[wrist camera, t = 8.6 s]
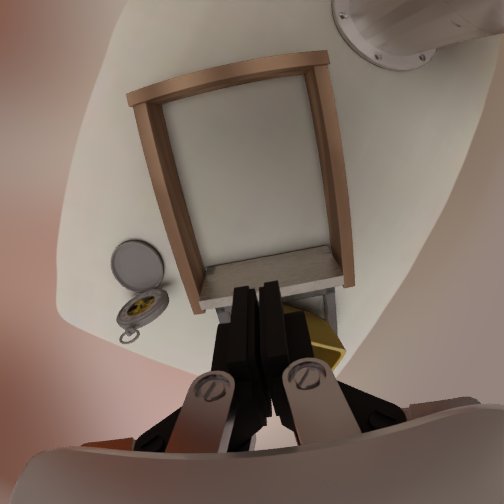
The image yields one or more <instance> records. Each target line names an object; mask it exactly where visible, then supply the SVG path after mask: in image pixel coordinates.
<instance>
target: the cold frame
mask: <svg viewBox="0 0 504 504" xmlns="http://www.w3.org/2000/svg"><path fill="white" fill-rule="evenodd" d="M328 64H330V61H329V57H328V52H327V50H322V51H311V52H301V53H292V54H284V55H277V56H270V57H264V58H258V59H252V60H247V61H242V62H237V63H232V64H227V65H222V66H218V67H214V68H209V69H205V70H201V71H197V72H194V73H190V74H186V75H183V76H179V77H176V78H172V79H169V80H165V81H162V82H159V83H156V84H153V85H150V86H147V87H144V88H141V89H138V90H135V91H132V92H130V93H127V94H126V96H127V101H128V105H129V107H133V109H134V114H135V118H136V122H137V127H138V131H139V135H140V139H141V143H142V147H143V151H144V155H145V159H146V163H147V166H148V170H149V174H150V178H151V181H152V185H153V188H154V192H155V195H156V199H157V202H158V206H159V209H160V213H161V216H162V219H163V223H164V226H165V229H166V232H167V236H168V239H169V242H170V245H171V248H172V251H173V255H174V258H175V261H176V264H177V267H178V270H179V273H180V276H181V279H182V282H183V284H184V287H185V290H186V293H187V296H188V299H189V302H190V304H191V307H192V310H193V313H194V315H195V314H202V313H205V311H206V309H205V310H201V307H200V304H199V298H200V294H201V290H202V286H203V283H204V279H205V275H206V273H205V270H204V266H203V263H202V260H201V256H200V253H199V249H198V246H197V243H196V239H195V236H194V232H193V228H192V225H191V221H190V218H189V214H188V210H187V207H186V203H185V199H184V196H183V192H182V188H181V184H180V181H179V177H178V173H177V169H176V165H175V161H174V157H173V153H172V149H171V145H170V141H169V137H168V133H167V128H166V124H165V120H164V116H163V111H162V107H161V104H164V103H167V102H171V101H174V100H178V99H181V98H185V97H189V96H192V95H196V94H200V93H204V92H208V91H212V90H217V89H221V88H226V87H230V86H235V85H240V84H245V83H250V82H256V81H261V80H267V79H273V78H280V77H286V76H294V75H302V74H304V77H305V82H306V86H307V91H308V96H309V101H310V106H311V112H312V117H313V122H314V128H315V134H316V139H317V145H318V151H319V158H320V164H321V171H322V177H323V184H324V192H325V199H326V207H327V215H328V223H329V232H330V241H331V251H332V255H333V257H334V259H335V261H336V263H337V264H338V266H339V268H340V270H341V272H342V274H343V276H344V285H343V287H344V288H348V287H353V286H355V275H354V256H353V242H352V229H351V217H350V207H349V197H348V188H347V180H346V172H345V164H344V157H343V150H342V143H341V136H340V130H339V124H338V118H337V112H336V107H335V101H334V96H333V91H332V86H331V81H330V76H329V71H328V67H327V65H328Z"/></svg>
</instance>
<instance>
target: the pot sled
mask: <svg viewBox="0 0 504 504" xmlns="http://www.w3.org/2000/svg"><path fill="white" fill-rule="evenodd" d="M276 280H278V282H279V287H280V293H281V298H282V303H283V302H288V301H294V300H299V299H304V298H309V297H315V296H320V295H324V303H325V314H326V322H327V323H328V324H329V325H330V326H331V327H332V329H333V330H334V332H335V333H336V335H337V319H336V303H335V290H334V287H336V286H340V285H344V276H343V274H342V272H341V270H340V268H339V266H338V264H337V263H336V261H335V259H334V257H333V255H332V253H331V252H330V250H329V248H328V246H321V247H316V248H311V249H305V250H300V251H295V252H289V253H284V254H279V255H273V256H268V257H262V258H257V259H251V260H246V261H241V262H235V263H230V264H224V265H219V266H213V267H208V268H207V271H206V275H205V279H204V283H203V286H202V290H201V294H200V298H199V304H200V307H201V310H205V309H212V308H215V309H216V312H217V315H218V318H219V321H220V324H222V323H229V322H230V320H231V316H230V313H229V311H231V310H232V301H233V292H234V288H235V287H241V286H247V285H248V286H249V288H250V289H252V288H255V291H256V295H257V299H258V303H259V287H264V283H265V282H270V281H276Z"/></svg>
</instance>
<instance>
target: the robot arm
mask: <svg viewBox="0 0 504 504" xmlns="http://www.w3.org/2000/svg"><path fill="white" fill-rule="evenodd" d="M332 12H333V16H334V21H335V23H336V25H337V28H338V30H339V32H340V33H341V35H342V36H343V38H344V40H345V41H346V42H347V43H348V44H349V45H350V47H351V48H352V49H353V50H354V51H356V52H357V53H358V54H359V55H360V56H361V57H363V58H364V59H366V60H368V61H369V62H371V63H373V64H375V65H377V66H379V67H382V68H385V69H389V70H395V71H406V70H412V69H416V68H419V67H421V66H423V65H425V64H426V63H427V62H429V61H430V60H431V59H432V57H433V56H434V54H435V53H436V50H437V48H438V47H442V46H446V45H450V44H454V43H458V42H463V41H467V40H471V39H476V38H481V37H486V36H491V35H497V34H502V33H504V0H333V1H332ZM340 16H342V17H343V19H342V18H340ZM375 56H376V57H377V59H376V58H375ZM271 399H272V402H273V406H274V410H275V413H276V416H280V419H281V423H282V425H283V426H285V427H287V428H288V429H290V430H292V431H293V432H294V435H295V438H296V442H297V445H298V446H293V447H285V448H278V449H268V450H258V451H254V448H255V443H256V435H255V433H256V432H258V431H259V430H260V429H261V428H262V427H263V426H267V419H266V418H267V417H272V405H271ZM8 504H504V405H500V404H481V403H480V402H478V401H477V400H476V399H474V398H471V397H459V398H453V399H447V400H440V401H434V402H426V403H418V404H410V405H409V408H400V407H398V406H397V405H395V404H393V403H390V402H387V401H385V400H383V399H380V398H377V397H375V396H373V395H370V394H368V393H365V392H363V391H361V390H358V389H356V388H354V387H351V386H349V385H347V384H344V383H342V382H339V381H337V380H336V378H335V376H334V374H333V372H332V370H331V368H330V367H329V365H328V364H327V363H326V362H324V361H323V360H320V359H317V358H314V353H313V348H312V344H311V339H310V335H309V330H308V326H307V321H306V317H305V312H304V310H302V311H296V312H291V313H285V314H284V309H283V303H282V298H281V293H280V287H279V282H278V280H276V281H270V282H265V283H264V287H259V303H258V299H257V295H256V291H255V288H252V289H250V288H249V286H248V285H247V286H241V287H235V288H234V292H233V301H232V310H231V320H230V322H229V323H222V324H219V325H218V328H217V334H216V341H215V347H214V354H213V361H212V368H211V371H210V372H207V373H204V374H202V375H200V376H199V377H197V378H196V379H195V380H194V381H193V382H192V384H191V386H190V388H189V390H188V393H187V395H186V398H185V401H184V403H183V406H182V407H180V408H179V409H177V410H176V411H175V412H173V413H172V414H171V415H169V416H168V417H166V418H165V419H164V420H162V421H161V422H159V423H158V424H156V425H155V426H154V427H152V428H151V429H150V430H148V431H146V432H145V433H143V434H142V435H141V436H140V437H139V438H138V439H137V440H134V439H133V438H132V437H131V438H125V439H117V440H109V441H100V442H90V443H85V444H83V445H81V446H69V447H58V448H53V449H48V450H44V451H41V452H39V453H37V454H35V455H34V456H33V457H32V458H31V459H30V460H29V461H28V463H27V464H26V466H25V467H24V469H23V470H22V472H21V474H20V477H19V478H18V480H17V483H16V485H15V487H14V490H13V492H12V495H11V497H10V500H9V503H8Z"/></svg>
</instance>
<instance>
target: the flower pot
mask: <svg viewBox="0 0 504 504" xmlns="http://www.w3.org/2000/svg"><path fill="white" fill-rule="evenodd" d="M283 309H284V314H285V313H291V312H296V311H302V310H300V309H296V308H293V307H290V306H287V305H284V304H283ZM304 312H305V317H306V321H307V326H308V330H309V335H310V339H311V344H312V348H313V353H314V358H317V359H320V360H323V361H324V362H326V363H327V364H328V365H329V367H330V368H331V370H332V371H333V370H334V369H335V368H336V366H337V365H338V364H339V362H340V361H341V360H342V358H343V357H344V355H345V353H346V350H345V348H344V346H343V345H342V343H341V341H340V340H339V338H338V336H337V335H336V333H335V332H334V330H333V329H332V327H331V326H330V325H329V324H328V323H327V322H326V321H325V320H324V319H322V318H320V317H319V316H317V315H314V314H312V313H310V312H307V311H304Z"/></svg>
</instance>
